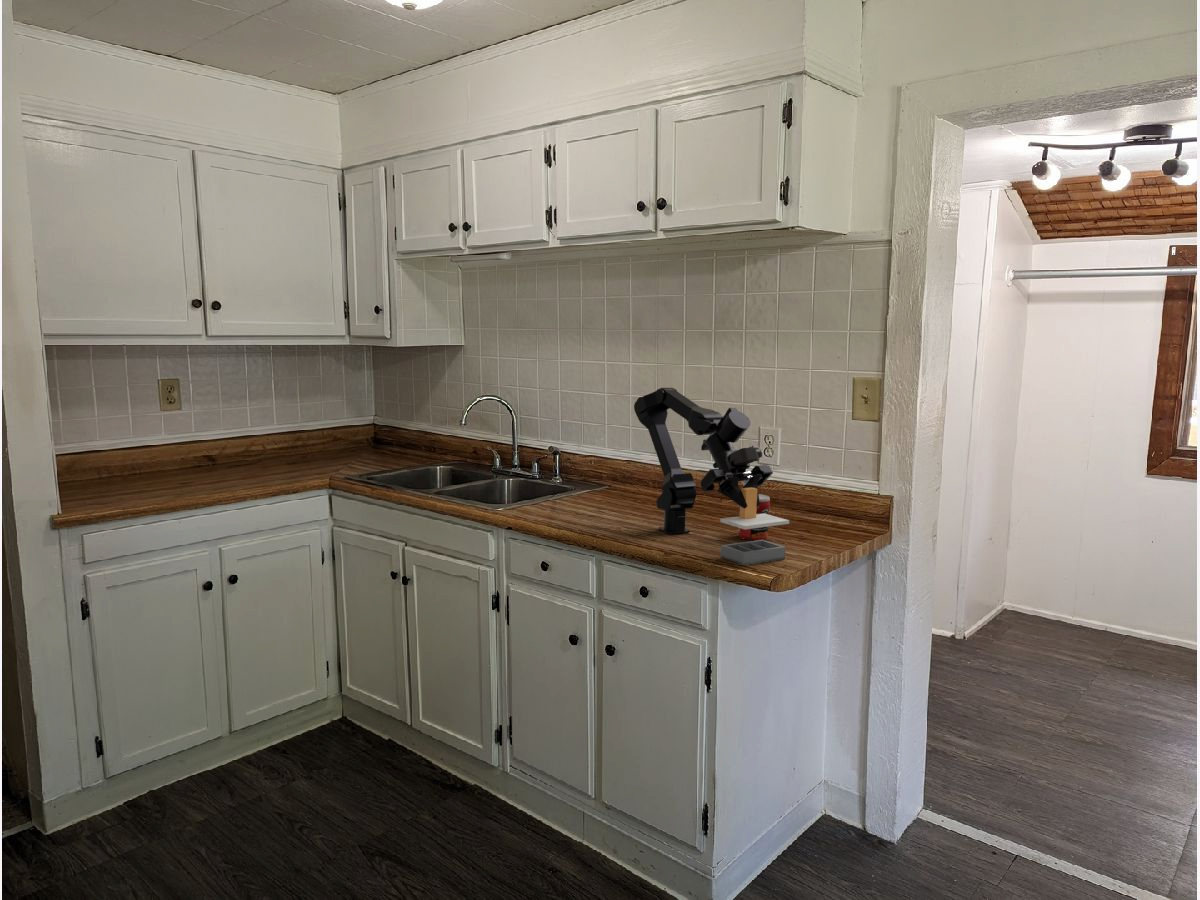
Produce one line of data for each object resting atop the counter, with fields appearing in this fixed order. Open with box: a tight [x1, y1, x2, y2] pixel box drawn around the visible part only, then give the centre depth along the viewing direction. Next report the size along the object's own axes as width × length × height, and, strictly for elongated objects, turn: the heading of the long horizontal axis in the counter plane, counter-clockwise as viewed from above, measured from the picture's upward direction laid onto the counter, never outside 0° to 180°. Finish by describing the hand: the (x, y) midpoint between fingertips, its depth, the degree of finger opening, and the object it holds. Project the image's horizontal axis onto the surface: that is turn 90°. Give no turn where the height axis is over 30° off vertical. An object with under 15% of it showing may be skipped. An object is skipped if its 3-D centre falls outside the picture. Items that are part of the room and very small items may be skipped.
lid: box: [719, 487, 790, 529], centre depth 202 cm, size 9×14×8 cm, turn 122°
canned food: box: [737, 493, 771, 541], centre depth 224 cm, size 8×8×11 cm
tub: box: [720, 540, 786, 566], centre depth 203 cm, size 8×13×3 cm, turn 122°
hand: (752, 506), depth 203 cm, fingers closed on lid, 3 cm apart
